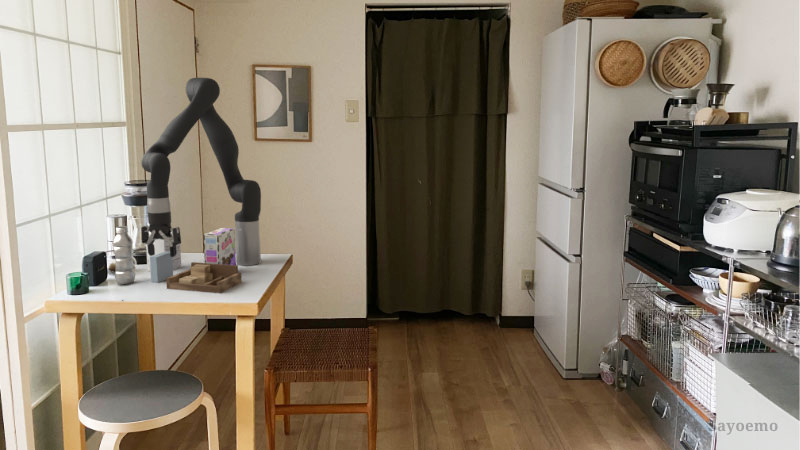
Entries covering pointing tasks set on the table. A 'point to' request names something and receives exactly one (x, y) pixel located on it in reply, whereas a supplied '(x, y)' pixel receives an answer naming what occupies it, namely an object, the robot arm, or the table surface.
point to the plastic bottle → (123, 256)
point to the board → (161, 267)
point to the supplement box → (162, 247)
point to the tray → (221, 281)
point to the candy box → (220, 247)
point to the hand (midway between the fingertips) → (162, 255)
